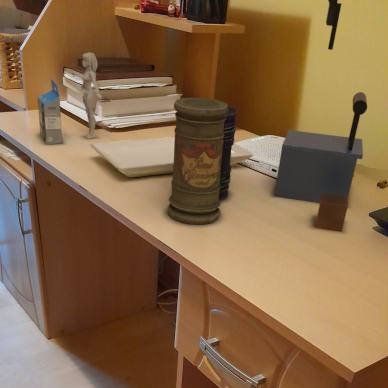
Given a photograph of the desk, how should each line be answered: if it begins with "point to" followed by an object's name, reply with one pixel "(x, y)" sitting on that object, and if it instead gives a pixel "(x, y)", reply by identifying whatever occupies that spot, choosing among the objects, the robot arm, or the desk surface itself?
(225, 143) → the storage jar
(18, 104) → the desk surface
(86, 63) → the human figurine
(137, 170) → the tray
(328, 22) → the robot arm
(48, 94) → the label tape box
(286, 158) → the grey storage bin
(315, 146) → the lid
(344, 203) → the block
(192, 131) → the container
